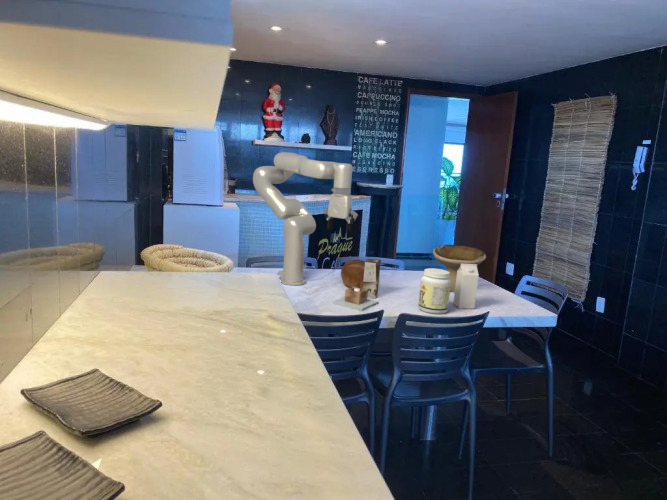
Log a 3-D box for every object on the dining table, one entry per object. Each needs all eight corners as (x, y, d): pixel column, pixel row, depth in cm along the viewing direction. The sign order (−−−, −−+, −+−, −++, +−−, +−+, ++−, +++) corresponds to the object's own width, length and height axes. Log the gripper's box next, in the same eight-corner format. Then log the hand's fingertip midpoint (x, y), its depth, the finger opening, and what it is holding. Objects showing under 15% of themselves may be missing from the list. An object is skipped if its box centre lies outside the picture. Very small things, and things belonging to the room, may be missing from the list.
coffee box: (376, 298, 221) (379, 263, 218) (361, 297, 223) (364, 261, 220) (378, 293, 230) (381, 259, 227) (364, 292, 231) (367, 257, 228)
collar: (344, 301, 211) (345, 289, 210) (353, 298, 217) (353, 286, 216) (358, 304, 207) (359, 293, 206) (367, 301, 213) (368, 290, 212)
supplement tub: (415, 305, 216) (419, 266, 213) (443, 306, 217) (447, 268, 214) (421, 314, 204) (425, 273, 201) (451, 315, 205) (455, 275, 202)
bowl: (419, 286, 250) (423, 246, 246) (445, 279, 268) (449, 242, 264) (465, 298, 233) (471, 256, 229) (490, 290, 251) (495, 251, 247)
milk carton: (453, 303, 223) (458, 261, 219) (468, 304, 224) (474, 262, 220) (458, 308, 216) (463, 265, 212) (474, 309, 217) (479, 266, 213)
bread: (342, 290, 233) (344, 266, 230) (339, 275, 261) (340, 253, 259) (375, 292, 233) (377, 268, 231) (369, 277, 262) (370, 255, 260)
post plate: (333, 303, 210) (334, 288, 209) (350, 296, 222) (351, 282, 220) (361, 311, 203) (363, 295, 201) (378, 303, 214) (379, 289, 213)
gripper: (320, 190, 220) (318, 228, 223) (354, 194, 211) (351, 234, 214) (330, 189, 226) (327, 227, 230) (363, 193, 217) (360, 232, 220)
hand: (339, 230), depth 222 cm, fingers open, 9 cm apart
